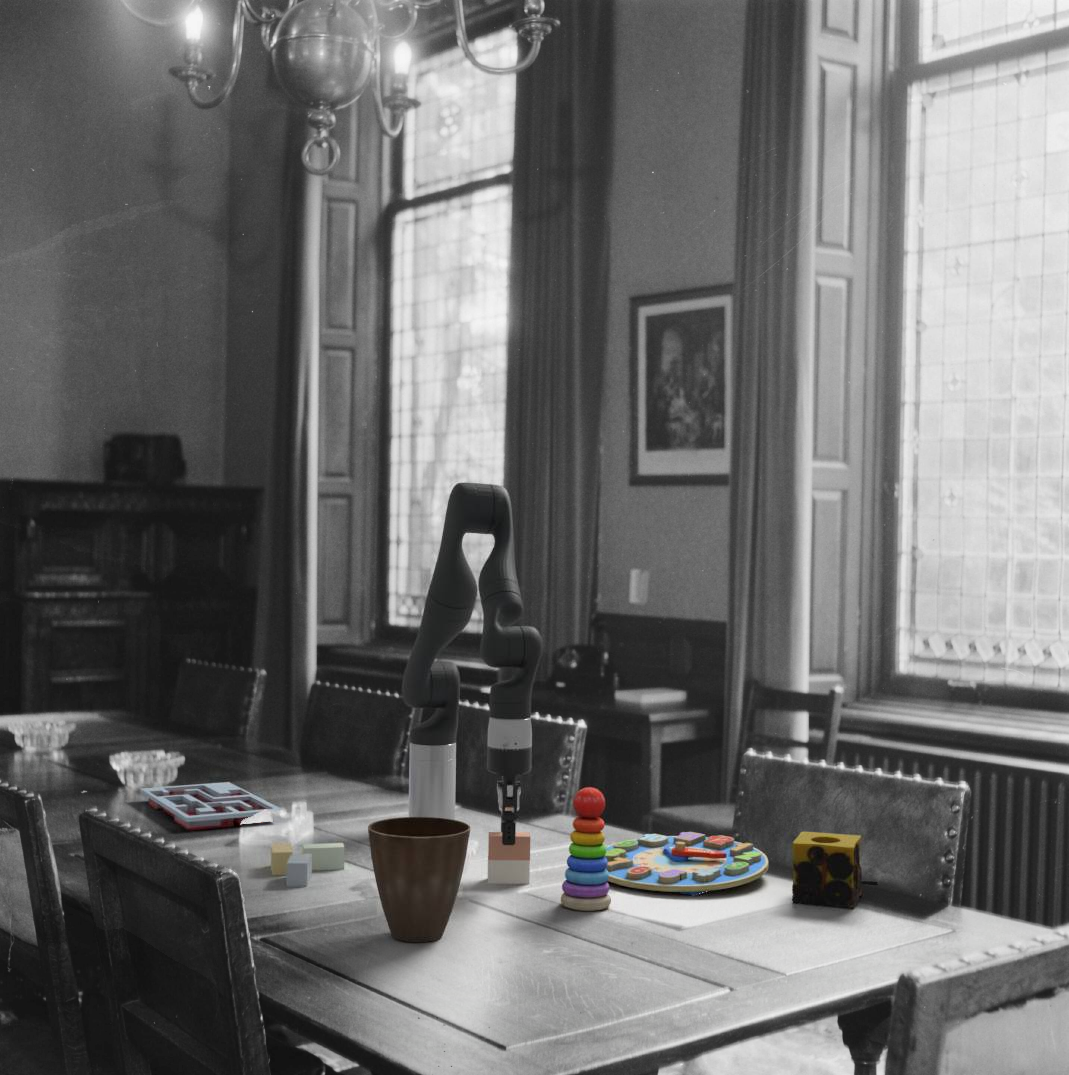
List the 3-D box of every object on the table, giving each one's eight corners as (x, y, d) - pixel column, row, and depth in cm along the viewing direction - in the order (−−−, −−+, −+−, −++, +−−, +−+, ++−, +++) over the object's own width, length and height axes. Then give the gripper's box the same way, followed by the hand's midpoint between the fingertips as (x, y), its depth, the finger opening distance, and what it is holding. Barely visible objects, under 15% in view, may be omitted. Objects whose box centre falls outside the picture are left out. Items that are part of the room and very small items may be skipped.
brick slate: (286, 887, 234) (286, 863, 234) (291, 877, 241) (291, 853, 241) (307, 887, 234) (307, 863, 234) (311, 877, 241) (311, 853, 241)
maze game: (283, 825, 285) (283, 809, 285) (186, 834, 275) (186, 818, 275) (228, 796, 315) (228, 782, 315) (139, 803, 305) (140, 788, 305)
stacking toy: (606, 914, 220) (608, 793, 220) (556, 910, 222) (558, 791, 222) (614, 901, 228) (616, 785, 228) (565, 898, 229) (567, 782, 229)
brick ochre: (272, 876, 242) (272, 852, 242) (270, 866, 248) (271, 843, 248) (292, 875, 242) (292, 852, 242) (290, 866, 249) (290, 843, 249)
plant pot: (374, 920, 214) (375, 814, 214) (472, 923, 214) (474, 817, 214) (358, 949, 199) (360, 835, 199) (464, 952, 199) (466, 838, 199)
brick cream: (487, 879, 242) (487, 855, 242) (528, 879, 242) (528, 855, 242) (487, 884, 238) (488, 860, 238) (529, 884, 239) (529, 860, 239)
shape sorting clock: (554, 875, 246) (555, 841, 246) (662, 849, 268) (663, 817, 268) (698, 910, 225) (698, 872, 225) (802, 878, 247) (802, 843, 247)
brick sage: (302, 867, 249) (302, 844, 249) (342, 865, 250) (342, 843, 250) (303, 871, 245) (303, 848, 245) (344, 870, 247) (344, 847, 247)
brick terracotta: (488, 855, 242) (488, 832, 242) (529, 855, 242) (529, 832, 242) (488, 860, 238) (488, 836, 238) (529, 860, 239) (530, 836, 239)
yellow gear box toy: (862, 895, 235) (863, 835, 235) (855, 910, 225) (856, 847, 225) (800, 889, 238) (801, 830, 238) (790, 904, 228) (791, 842, 228)
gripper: (533, 750, 233) (531, 849, 233) (529, 738, 247) (528, 830, 247) (488, 750, 233) (486, 848, 233) (487, 737, 247) (485, 830, 247)
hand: (507, 839), depth 240 cm, fingers open, 8 cm apart
